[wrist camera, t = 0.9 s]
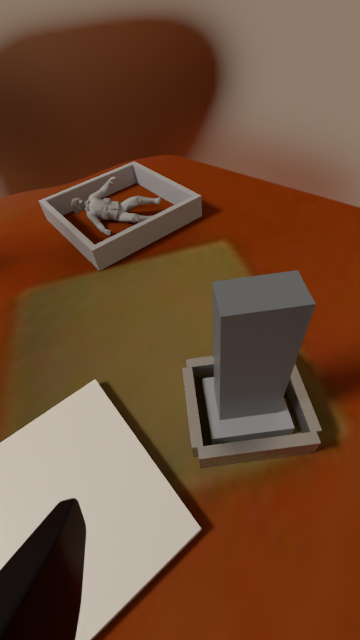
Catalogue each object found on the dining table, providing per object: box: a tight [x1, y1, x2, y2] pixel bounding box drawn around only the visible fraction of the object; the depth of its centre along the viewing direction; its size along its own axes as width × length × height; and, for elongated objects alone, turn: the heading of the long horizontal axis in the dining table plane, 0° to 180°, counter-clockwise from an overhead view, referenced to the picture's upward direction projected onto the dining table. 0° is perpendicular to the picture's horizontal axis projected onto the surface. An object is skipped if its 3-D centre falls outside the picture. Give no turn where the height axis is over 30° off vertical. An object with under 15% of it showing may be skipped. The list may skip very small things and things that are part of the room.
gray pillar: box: [202, 270, 315, 445], centre depth 20 cm, size 5×6×13 cm
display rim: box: [39, 162, 202, 271], centre depth 44 cm, size 17×17×3 cm
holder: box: [182, 356, 322, 468], centre depth 24 cm, size 8×9×2 cm
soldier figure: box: [71, 177, 161, 235], centre depth 43 cm, size 8×5×12 cm
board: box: [0, 380, 202, 640], centre depth 21 cm, size 14×16×1 cm
